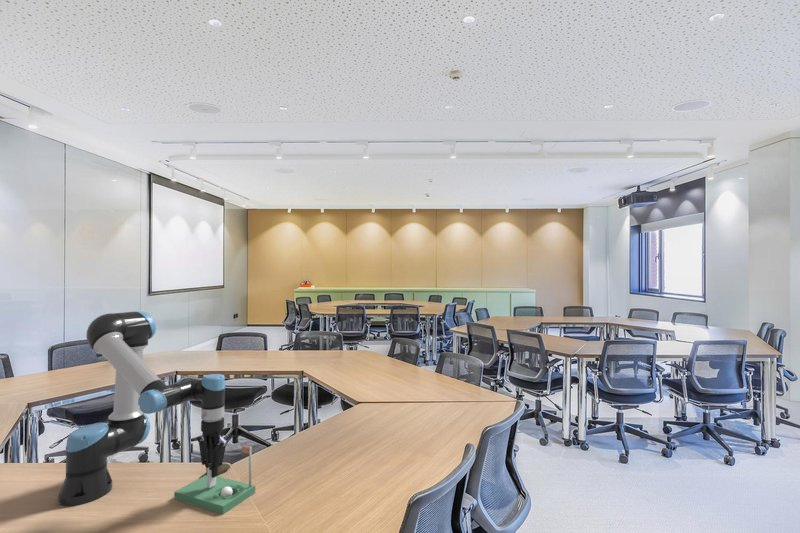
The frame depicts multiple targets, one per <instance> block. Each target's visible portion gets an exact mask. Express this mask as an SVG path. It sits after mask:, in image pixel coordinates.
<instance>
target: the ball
mask: <svg viewBox="0 0 800 533" xmlns="http://www.w3.org/2000/svg"><path fill="white" fill-rule="evenodd" d="M232 493H233V490H232V488H231V487H228V486H227V487H224V488H223V489H222V490H221V493H220V496H221V497H229V496H232Z"/></svg>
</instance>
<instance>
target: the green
mask: <svg viewBox="0 0 800 533" xmlns="http://www.w3.org/2000/svg"><path fill="white" fill-rule="evenodd" d="M241 448H242V451H241V452H242V453H244V454H248V483H246V482H242V481H239V480H234V479H230V478H226V477H223V476H220V475H217V476H216V485H214V486H212V487H211V488H208V487H207V475H205V476H203V477H201V476H200V477H201V478H200V477H199V478H200V479H199V478H197V479H196V480H194V481H192V482H190V483H189V484H187V485H184V486H183V487H181V488H179V489H177V490H175V491H174V494H173V496H174V500H176V501H180V502H182V503H185V504H189V505H192V506H195V507H198V508H202V509H204V510H205V509H206V510H209V511H212V512H215V513H218V514H221V515H225V514H226V513H227V512H229V511H231V510H232V509H233V508H236V506H238V505H239V504H241V503H242V502H244V501H245V500H247V499H249V498H250V497H252V495H254V494H256V485H254V484H252V446H246V445H242V447H241ZM227 486H228V487H231V488H232V490H233V493H232V496H229V497H221V496H220V493H221V490H222V489H223V488H224V487H227Z"/></svg>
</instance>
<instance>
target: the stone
mask: <svg viewBox="0 0 800 533" xmlns="http://www.w3.org/2000/svg"><path fill="white" fill-rule="evenodd" d="M231 467H232V466H231V465H230V464H229V463H226V462H225V463H224V462H223V463H222V465H221V466H219V467H218V468H217V476H220V475H221V474H223V473H225V472H227V470H229V469H230V468H231ZM205 475H206V472H205V473H204V474H202V475H201V476H200V477H198V479H200V478H201V477H203V476H205Z"/></svg>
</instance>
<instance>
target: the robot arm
mask: <svg viewBox="0 0 800 533" xmlns="http://www.w3.org/2000/svg"><path fill="white" fill-rule="evenodd" d="M156 331H157V324H156V321H155V319H154V318H153V317H152V315H151V314H150V313H148V312H146V311H126V312H125V311H124V312H115V313H113V312H111V313H105V314H104V313H103V314H101V315H98V317H95V319H93V320H92V321H91V322H90V323H89V325H88V327H87V330H86V341H87V343H88V346H89V347H90V348H91V349H92V350H93V352H94V353H96V354H98V355H102V357H104V359H106V361H107V362H108V363H109V364H110V365H111V366H112V368H114V370H115V380H114V397H113V398H114V399H113V411H112V412H111V413H110V414H109V415H108V417H107V418H108V419H107V422H94V423H89V424H86V425H84V426H80V427H79V428H77V429H75V430H73V431H72V432H71V433H70V434H69V435H68V437H67V439H66V445H65V451H66V453H65V478H64V480H63V483H62V485H61V489H60V491H59V492H58V498H57V499H58V500H57V502H59V503H60V504H59V503H58V504H59V505H61V506H66V505H70V506H78V505H81V504H86V503H88V502H92V501H94V500H97V499H100V498H102V497H103V496H106V495H107V494H108V493H110V492H111V490H112V489H113V479H112V477H111V474H110V472H109V469H108V458H109V457H111V456H113V455H116V454H119V453H121V452H124V451H126V450H128V449H132V448H135V447H136V446H138V445H139V444H142V443H143V442H145V440H146V439H147V437H149V433H150V430H151V422H150V420H149V417H148V415H150V414H155V413H158V412H162V411H164V410H166V409H170V408H172V407H175V406H178V405H182V404H184V403H188V402H190V401H196V402H201V414H200V415H201V422H200V430H201V432H202V433H201V435H200V436H197V438H196V439H197V442H198V446H199V453H200V460H201V465H202V466H205V468H206V469H205V470H206V472H205V473H206V475H207V487H208V488H211V487H212V486H214V485H216V476H218V475H217V468H218V467H219V466H221V465H222V464H223V463H224V462H223V461H224V457H225V453H226V448H227V447H226V446H227V444H228V443H229V440H228V439H225V438H224V437H223V436H224V434H223V430H224V428H225V418H224V417H225V397H226V395H225V394H226V383H225V382H226V380H225V378H226V377H225V375H223V374H221V373H211V374H206V375H204V376H203V377H202V378H193V377H183V378H179V379H178V380H177V381H176V382H174V383H172V384H171V383H170V384H168V385H167V384H166V383H164V381H163V380H162V379H161V378H160V377H159V376H158V375H157V374H156V373H155V372H154V371H153V370H152V369H151V368H150V366H148V364H147V363H146V362H145V361H144V360H143V358H144V349H145V348H146V347H147V346H149V340H151V339H152V338H153V337H154V335H155V334H156Z"/></svg>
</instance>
